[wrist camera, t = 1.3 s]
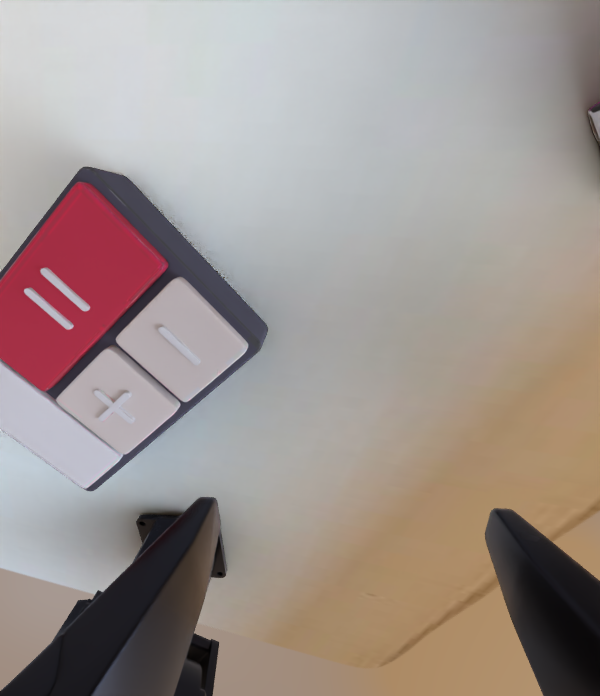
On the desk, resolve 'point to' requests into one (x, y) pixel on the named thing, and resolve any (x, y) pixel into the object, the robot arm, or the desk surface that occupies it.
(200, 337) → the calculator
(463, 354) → the desk surface
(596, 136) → the candy bar box
